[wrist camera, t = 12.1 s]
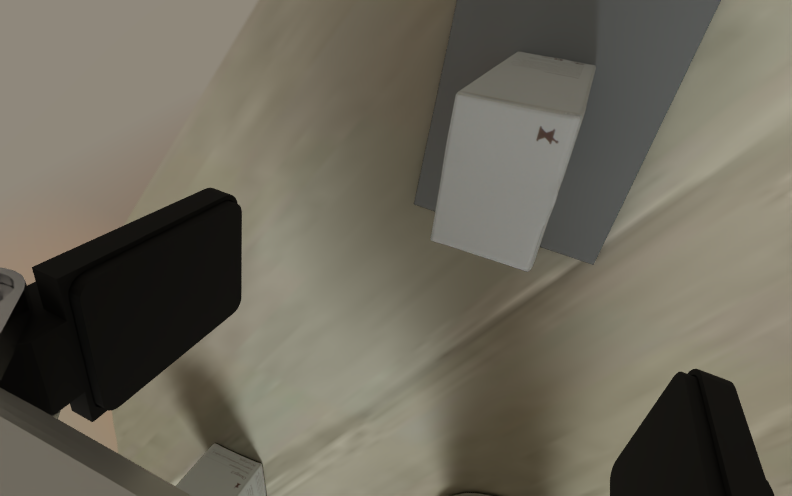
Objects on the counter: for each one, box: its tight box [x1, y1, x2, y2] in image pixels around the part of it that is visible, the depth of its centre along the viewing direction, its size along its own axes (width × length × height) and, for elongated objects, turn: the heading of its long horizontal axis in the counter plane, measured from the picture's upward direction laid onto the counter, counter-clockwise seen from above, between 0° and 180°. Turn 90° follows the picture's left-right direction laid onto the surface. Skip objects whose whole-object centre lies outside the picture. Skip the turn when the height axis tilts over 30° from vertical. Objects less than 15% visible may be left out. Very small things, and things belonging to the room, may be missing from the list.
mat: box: [414, 0, 721, 265], centre depth 26 cm, size 16×12×1 cm
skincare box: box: [431, 52, 596, 272], centre depth 21 cm, size 6×4×12 cm
